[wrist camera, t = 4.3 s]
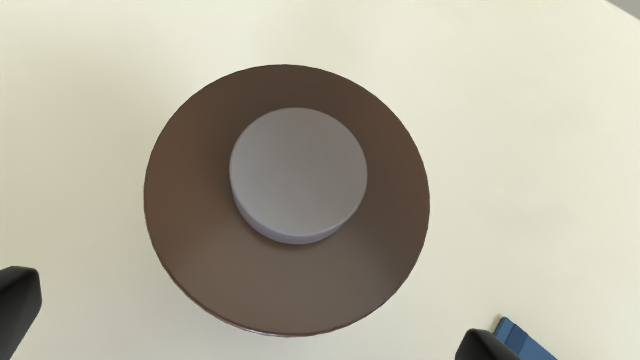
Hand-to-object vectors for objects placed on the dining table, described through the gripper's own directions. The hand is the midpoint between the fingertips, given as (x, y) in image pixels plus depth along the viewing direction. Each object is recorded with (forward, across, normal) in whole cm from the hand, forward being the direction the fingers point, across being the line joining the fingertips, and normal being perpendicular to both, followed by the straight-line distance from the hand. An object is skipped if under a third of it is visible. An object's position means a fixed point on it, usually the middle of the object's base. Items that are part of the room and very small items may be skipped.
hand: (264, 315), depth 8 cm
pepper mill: (+8, 0, +5) cm, 10 cm away
